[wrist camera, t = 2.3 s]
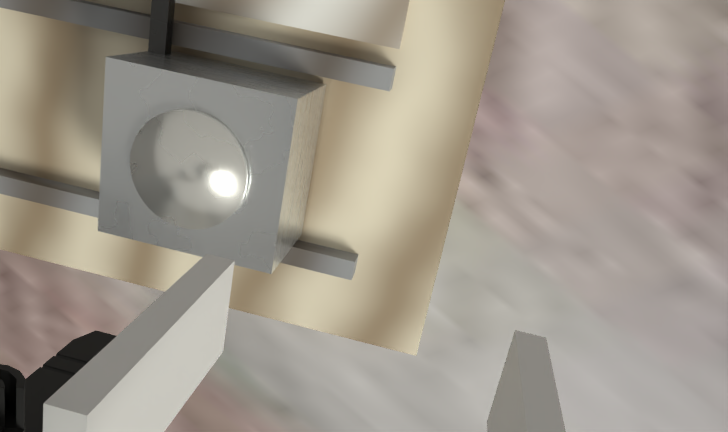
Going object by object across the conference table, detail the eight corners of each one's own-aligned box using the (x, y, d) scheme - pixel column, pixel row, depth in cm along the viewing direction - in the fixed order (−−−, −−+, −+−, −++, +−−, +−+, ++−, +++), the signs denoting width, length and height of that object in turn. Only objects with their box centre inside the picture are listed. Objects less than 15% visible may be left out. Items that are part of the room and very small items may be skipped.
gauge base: (-73, 212, 38) (-230, 271, 29) (-90, -130, 32) (-296, -178, 23) (419, 336, 35) (401, 441, 27) (506, -12, 29) (518, -20, 20)
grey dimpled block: (151, 198, 33) (92, 233, 28) (172, -70, 28) (106, -86, 23) (301, 234, 32) (268, 277, 27) (345, -35, 28) (316, -45, 22)
